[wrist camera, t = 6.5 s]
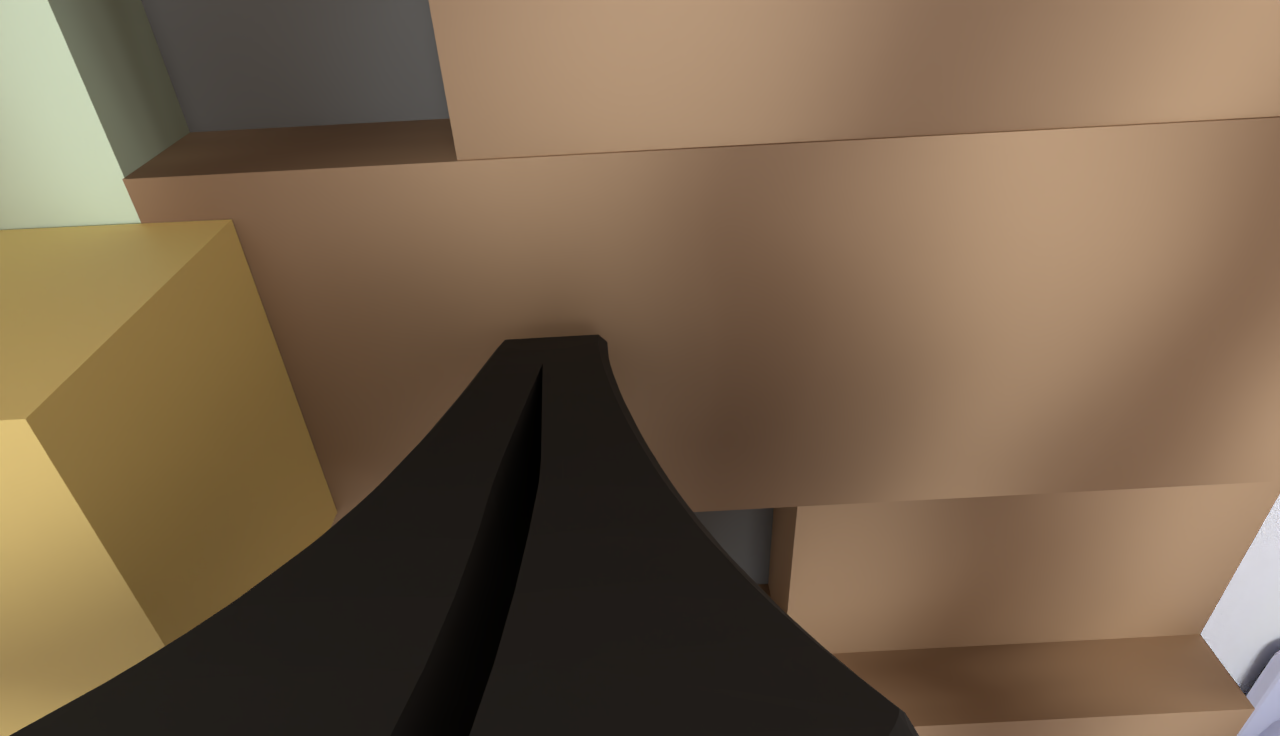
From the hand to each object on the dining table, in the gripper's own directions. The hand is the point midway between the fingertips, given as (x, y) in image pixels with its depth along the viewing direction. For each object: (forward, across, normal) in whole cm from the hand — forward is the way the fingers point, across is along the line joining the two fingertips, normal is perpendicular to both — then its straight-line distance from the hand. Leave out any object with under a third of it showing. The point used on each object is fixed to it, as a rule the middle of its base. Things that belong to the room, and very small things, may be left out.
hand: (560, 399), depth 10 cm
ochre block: (+1, +6, 0) cm, 6 cm away
